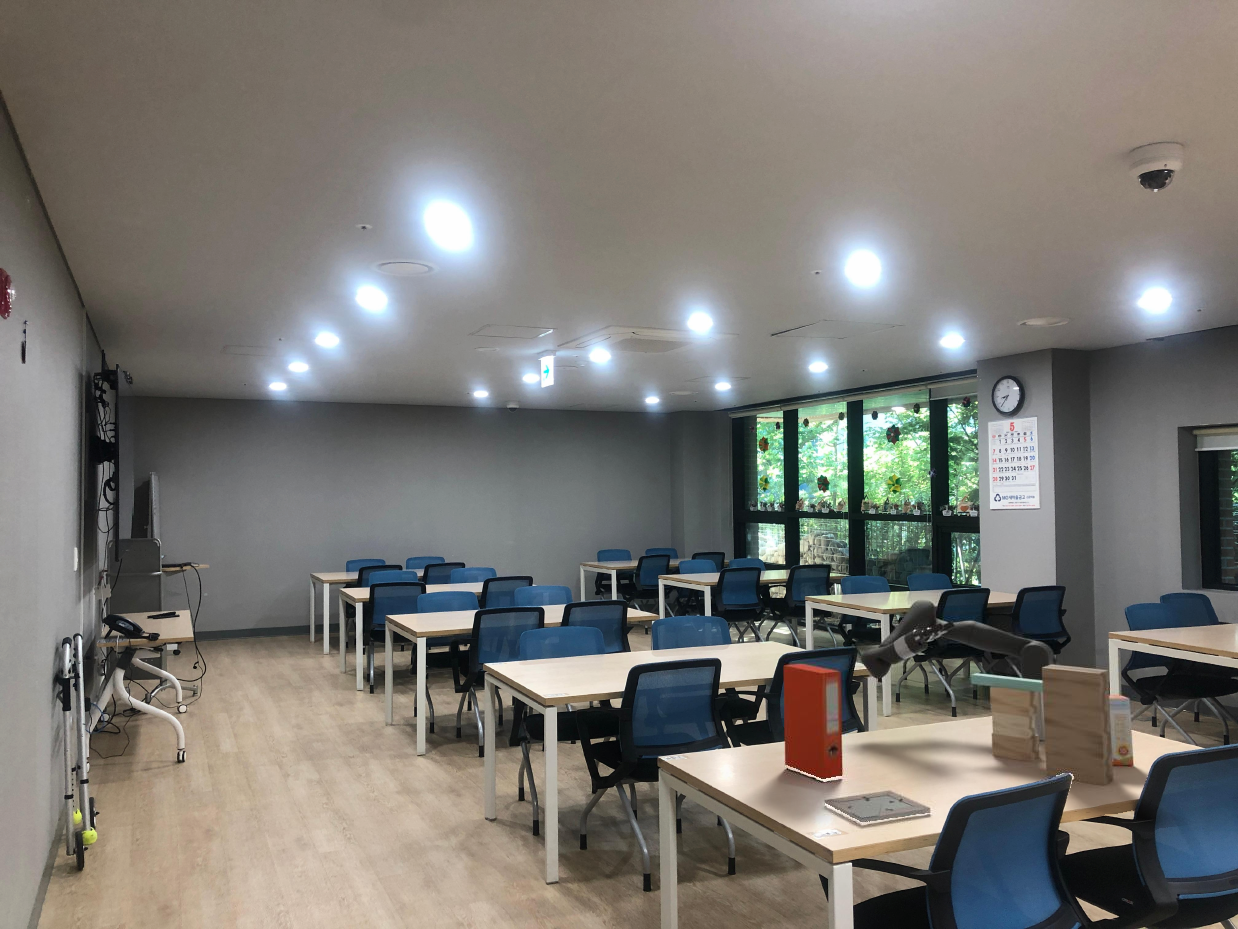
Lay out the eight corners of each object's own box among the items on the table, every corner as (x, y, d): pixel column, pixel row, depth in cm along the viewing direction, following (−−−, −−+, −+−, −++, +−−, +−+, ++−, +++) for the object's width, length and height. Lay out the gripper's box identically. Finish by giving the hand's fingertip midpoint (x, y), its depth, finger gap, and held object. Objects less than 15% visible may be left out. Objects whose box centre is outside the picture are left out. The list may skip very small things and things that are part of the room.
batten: (976, 682, 300) (976, 673, 300) (1057, 691, 281) (1057, 682, 281) (971, 683, 297) (971, 674, 297) (1052, 693, 278) (1052, 684, 279)
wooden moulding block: (1055, 769, 271) (1051, 664, 273) (1113, 780, 260) (1107, 670, 262) (1046, 775, 266) (1041, 667, 268) (1104, 786, 254) (1099, 673, 257)
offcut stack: (1002, 750, 295) (999, 683, 296) (1039, 757, 286) (1036, 688, 288) (992, 755, 289) (989, 687, 290) (1030, 762, 280) (1027, 691, 282)
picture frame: (862, 828, 224) (930, 816, 231) (861, 817, 224) (930, 807, 232) (824, 808, 239) (890, 798, 247) (824, 799, 239) (889, 789, 247)
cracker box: (1125, 761, 280) (1121, 694, 281) (1134, 766, 274) (1131, 698, 275) (1079, 760, 281) (1076, 694, 283) (1087, 765, 275) (1084, 697, 277)
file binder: (805, 765, 279) (802, 663, 281) (843, 779, 264) (840, 671, 266) (785, 769, 275) (782, 665, 277) (822, 783, 260) (820, 673, 262)
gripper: (925, 652, 318) (962, 632, 309) (906, 656, 308) (944, 636, 299) (914, 633, 321) (951, 613, 312) (895, 637, 311) (933, 616, 302)
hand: (947, 624), depth 305 cm, fingers open, 8 cm apart
